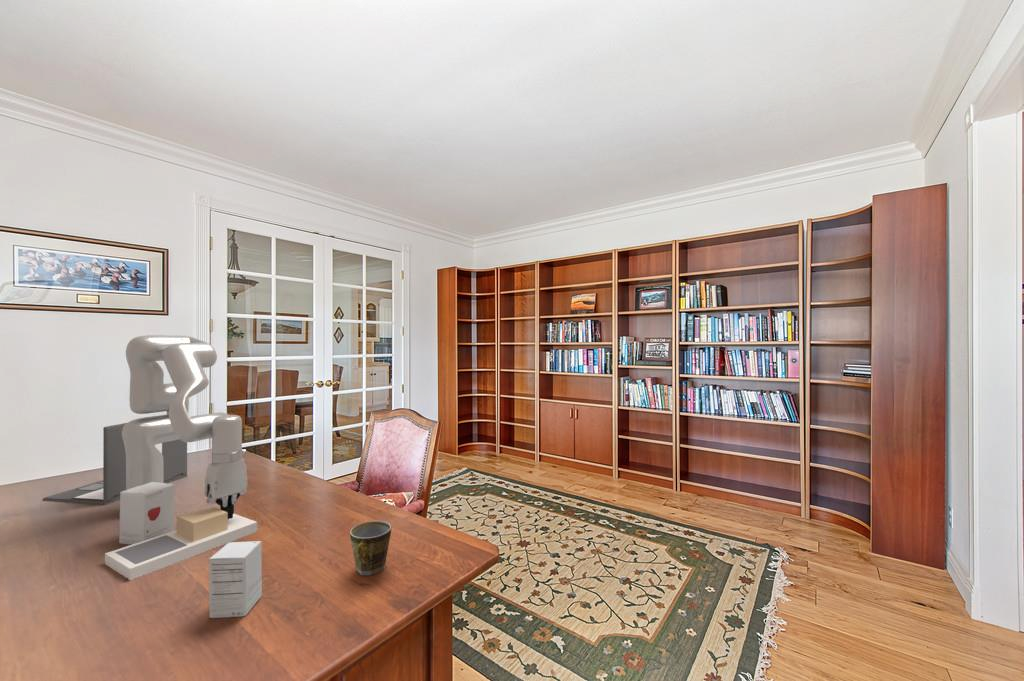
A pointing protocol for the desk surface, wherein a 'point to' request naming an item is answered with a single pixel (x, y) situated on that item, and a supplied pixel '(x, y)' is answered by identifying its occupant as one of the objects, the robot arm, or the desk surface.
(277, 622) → the desk surface
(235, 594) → the supplement box
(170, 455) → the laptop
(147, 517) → the supplement box
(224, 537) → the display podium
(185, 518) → the kraft carton
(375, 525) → the ceramic cup
